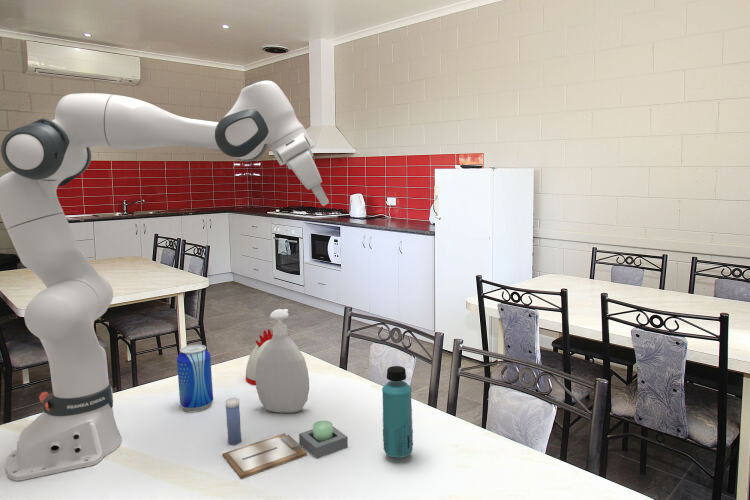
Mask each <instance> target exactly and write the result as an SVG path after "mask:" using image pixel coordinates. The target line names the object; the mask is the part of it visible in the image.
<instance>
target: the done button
mask: <svg viewBox="0 0 750 500" xmlns="http://www.w3.org/2000/svg"><path fill="white" fill-rule="evenodd" d="M333 427H334V426H333V423H332V421H329V420H319V421H316V422H314V423H313V425H312V429H313V439H315V440H316V441H317V442H318V443H320V442H323V441H326V440H328V439H331V438H333Z"/></svg>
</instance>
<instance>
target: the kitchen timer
mask: <svg viewBox="0 0 750 500" xmlns="http://www.w3.org/2000/svg"><path fill="white" fill-rule="evenodd" d="M272 336H273V330H272V331H271V329H269V328H268V329H267V331H266V330H264V329H263V335H261V334H259V335H258V337H259V340H260V341H259V340H257V339H255V343H256V346H255V347H254V348H253V350H252V351H251V353H250V354H249V356H248V360H247V364H246V369H245V381H246V383H247V384H249V385H252V386H255V387H256V366H257V361H258V357H259V355H260V354H261V352H262V350H263V349H264V347H265V346H266V344H267V343H268V342H269V341H270V340H271V339H272Z"/></svg>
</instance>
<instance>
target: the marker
mask: <svg viewBox="0 0 750 500" xmlns="http://www.w3.org/2000/svg"><path fill="white" fill-rule="evenodd" d="M225 413H226V414H225V416H226V429H227V430H226V431H227V432H226V433H227V443H228V445H230V446H237V445H239V444H241V443H242V430H241V429H242V427H241V426H242V425H241V409H240V398H238V397H231V398H228V399H226V400H225Z"/></svg>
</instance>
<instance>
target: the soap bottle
mask: <svg viewBox="0 0 750 500" xmlns="http://www.w3.org/2000/svg"><path fill="white" fill-rule="evenodd" d="M289 316H290V315H289V309H287V308H286V309H285V308H284V309H282V308H281V309H280V308H278V309H274V310H273V311H272V312H271V313H270V315H269V319H273V320H276V323H275V324H273V326H272V331H273V336H272V339H271V340H270V341H269V342H268V343H267V344H266V346H265V347H264V349H263V350H262V352H261V354H260V355H259V357H258V361H257V366H256V386H255V389H256V392H257V395H258V396H257V397H258V400H259V402H260V403H261V405H262V406H263V408H264V409H266V410H267V411H268V412H273V413H283V414H285V413H286V414H293V413H295V414H296V413H298V412H300V411H301V410H302V409H303V408H304V406H305V405H306V403H307V402H308V397H309V393H310V376H309V371H308V370H309V369H308V366H307V362H306V359H305V356H304V355H303V354H302V352H301V350H300V348H299V347H298V345H297V344H296V342H294V341H293V340H292V339H291V338H290V336H289V335H288V325H286V323H283V319H287V318H289Z"/></svg>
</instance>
